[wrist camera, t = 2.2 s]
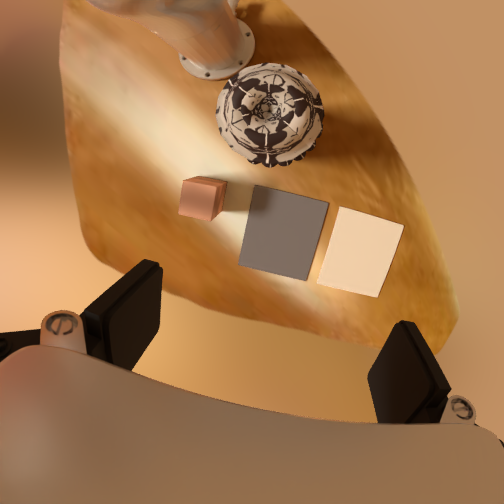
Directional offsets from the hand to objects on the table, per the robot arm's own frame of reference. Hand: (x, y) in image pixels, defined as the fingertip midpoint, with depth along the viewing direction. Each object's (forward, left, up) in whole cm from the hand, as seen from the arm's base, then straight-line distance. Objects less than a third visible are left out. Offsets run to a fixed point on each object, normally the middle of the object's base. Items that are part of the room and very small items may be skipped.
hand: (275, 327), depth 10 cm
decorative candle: (-9, -3, -36) cm, 38 cm away
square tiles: (+7, +8, -36) cm, 38 cm away
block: (+3, -12, -36) cm, 38 cm away
